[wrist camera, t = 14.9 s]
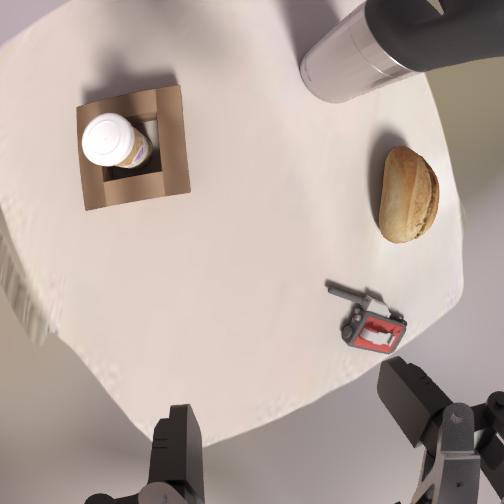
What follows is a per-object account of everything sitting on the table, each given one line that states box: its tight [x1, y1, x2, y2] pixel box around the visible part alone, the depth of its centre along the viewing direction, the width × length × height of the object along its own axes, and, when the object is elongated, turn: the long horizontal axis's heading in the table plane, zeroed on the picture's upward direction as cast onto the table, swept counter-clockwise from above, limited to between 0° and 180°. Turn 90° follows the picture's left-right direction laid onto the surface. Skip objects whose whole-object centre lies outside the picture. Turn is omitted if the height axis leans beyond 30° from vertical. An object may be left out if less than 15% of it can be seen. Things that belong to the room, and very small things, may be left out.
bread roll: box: [379, 146, 439, 243], centre depth 37 cm, size 10×15×8 cm, turn 0°
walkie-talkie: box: [328, 287, 407, 354], centre depth 44 cm, size 9×4×20 cm
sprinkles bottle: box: [82, 113, 152, 169], centre depth 26 cm, size 5×5×13 cm
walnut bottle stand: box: [77, 85, 191, 211], centre depth 31 cm, size 13×13×4 cm
